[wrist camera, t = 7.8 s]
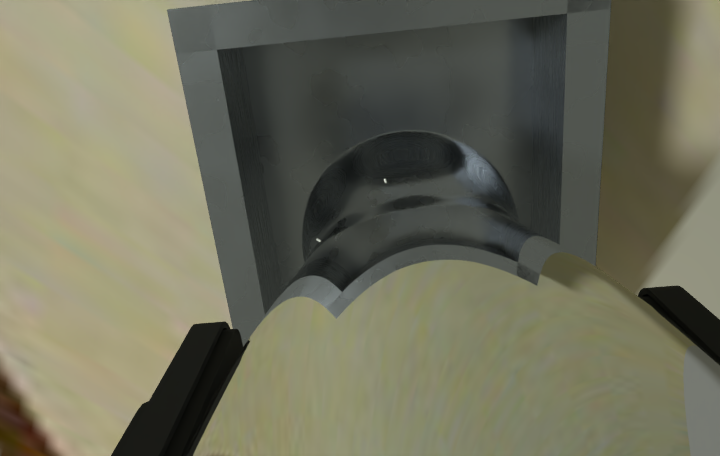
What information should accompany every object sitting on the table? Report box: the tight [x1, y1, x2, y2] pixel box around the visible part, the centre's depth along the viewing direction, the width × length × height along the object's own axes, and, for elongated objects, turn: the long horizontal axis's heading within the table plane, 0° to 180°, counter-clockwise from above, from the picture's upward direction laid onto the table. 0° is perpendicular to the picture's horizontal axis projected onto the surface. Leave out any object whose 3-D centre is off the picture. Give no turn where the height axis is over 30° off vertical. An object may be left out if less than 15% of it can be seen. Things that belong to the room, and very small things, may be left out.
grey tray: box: [167, 0, 611, 347], centre depth 19 cm, size 12×12×4 cm
